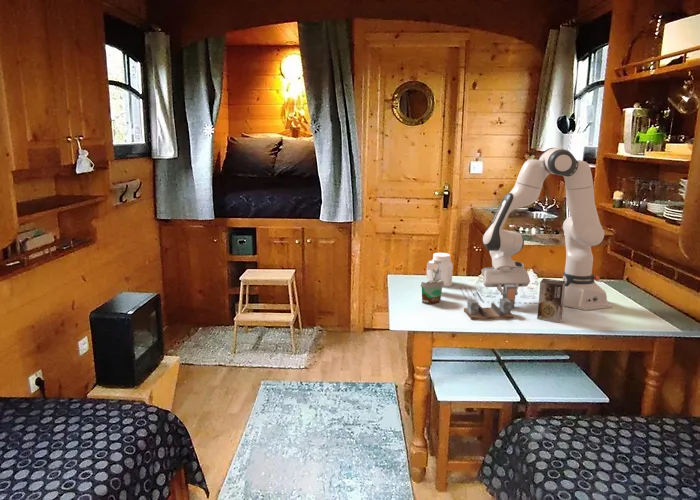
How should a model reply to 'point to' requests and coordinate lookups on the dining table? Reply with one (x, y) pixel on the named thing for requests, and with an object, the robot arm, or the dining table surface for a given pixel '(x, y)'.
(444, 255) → the jar
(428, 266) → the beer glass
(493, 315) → the rail board
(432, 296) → the food container
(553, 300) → the coffee box
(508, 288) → the grey orange block
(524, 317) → the dining table surface
